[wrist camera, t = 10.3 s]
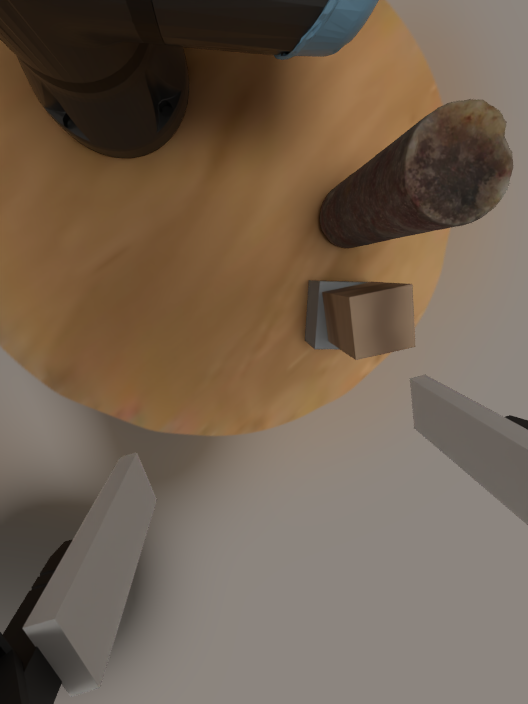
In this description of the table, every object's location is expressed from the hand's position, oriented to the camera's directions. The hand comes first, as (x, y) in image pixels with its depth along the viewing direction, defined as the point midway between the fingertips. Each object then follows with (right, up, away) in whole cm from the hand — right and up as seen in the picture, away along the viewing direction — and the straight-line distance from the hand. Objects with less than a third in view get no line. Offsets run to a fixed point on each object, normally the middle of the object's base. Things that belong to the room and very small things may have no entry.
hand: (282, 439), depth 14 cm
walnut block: (+9, +9, +21) cm, 25 cm away
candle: (+9, +21, +23) cm, 33 cm away
